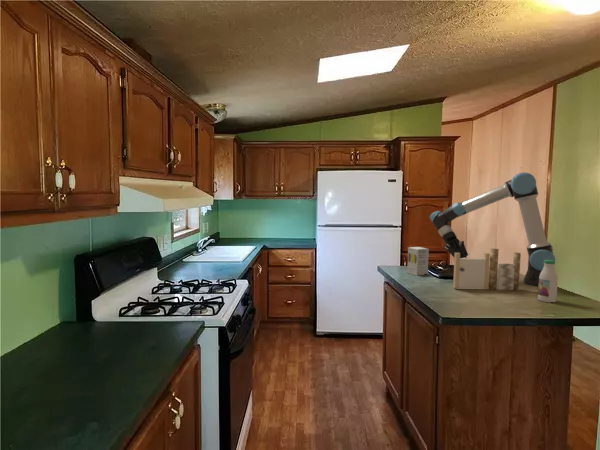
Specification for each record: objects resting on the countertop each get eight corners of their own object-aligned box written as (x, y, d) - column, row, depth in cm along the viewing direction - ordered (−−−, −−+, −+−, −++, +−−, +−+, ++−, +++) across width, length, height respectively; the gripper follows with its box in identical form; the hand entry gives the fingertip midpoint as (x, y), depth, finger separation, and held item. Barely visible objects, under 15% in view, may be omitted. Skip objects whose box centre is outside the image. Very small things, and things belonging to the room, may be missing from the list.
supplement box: (406, 272, 259) (407, 247, 258) (417, 271, 263) (418, 246, 262) (416, 275, 251) (417, 249, 249) (428, 274, 255) (429, 248, 253)
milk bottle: (551, 299, 198) (553, 259, 196) (559, 303, 190) (562, 261, 189) (534, 298, 199) (537, 258, 197) (542, 302, 191) (545, 261, 189)
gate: (485, 287, 218) (487, 253, 217) (489, 289, 214) (491, 254, 212) (453, 287, 218) (454, 252, 216) (456, 289, 213) (457, 253, 212)
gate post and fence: (516, 288, 219) (518, 248, 218) (520, 290, 215) (522, 249, 214) (487, 288, 219) (489, 248, 217) (490, 290, 215) (492, 249, 213)
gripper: (453, 235, 243) (475, 268, 231) (435, 240, 239) (456, 274, 227) (459, 228, 237) (481, 262, 225) (441, 233, 233) (462, 267, 221)
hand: (469, 268), depth 226 cm, fingers closed
